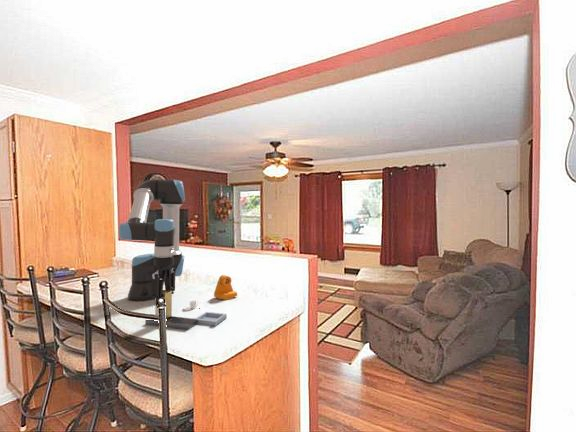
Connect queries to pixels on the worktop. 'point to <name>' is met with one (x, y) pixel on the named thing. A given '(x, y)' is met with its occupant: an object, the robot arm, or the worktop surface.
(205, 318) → the tray
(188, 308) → the teacup and saucer
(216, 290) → the bracket
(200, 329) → the worktop surface
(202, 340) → the worktop surface
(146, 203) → the robot arm
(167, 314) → the tan rectangular block
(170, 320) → the dark grey shallow tray
